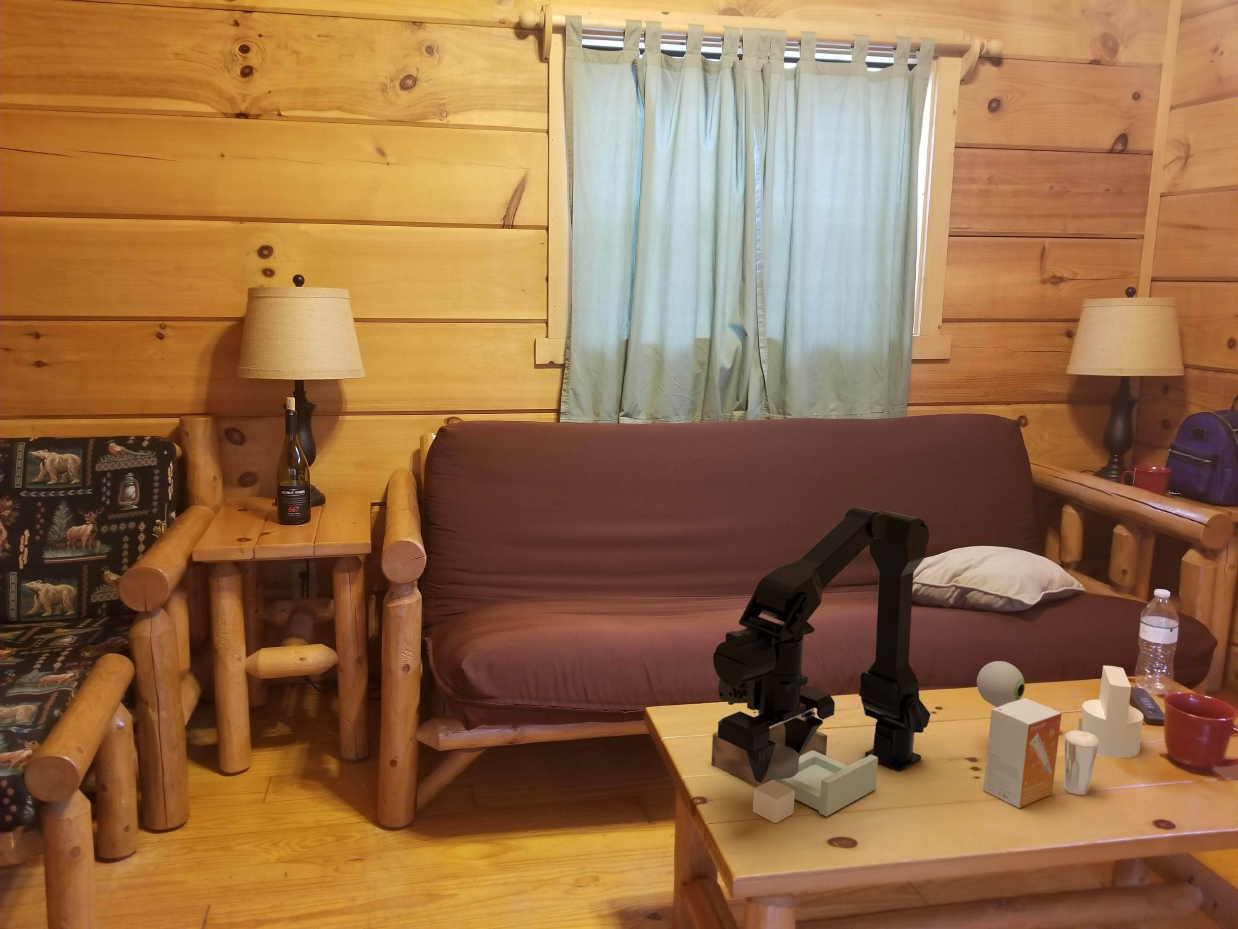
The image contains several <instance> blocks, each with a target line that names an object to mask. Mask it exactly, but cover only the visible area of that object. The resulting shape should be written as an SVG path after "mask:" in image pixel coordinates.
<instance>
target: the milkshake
mask: <svg viewBox="0 0 1238 929" xmlns="http://www.w3.org/2000/svg"><path fill="white" fill-rule="evenodd" d="M1082 721H1083V719H1081V718H1078V730H1077V729H1075V730H1074V729H1073V730H1070V731H1068V732H1067V733H1066V734H1065V735H1064V782H1063V783H1064V790H1065V791H1066V792H1068V793H1070V794H1072V795H1076V796H1086V795H1087V794H1089V791H1090V784H1091V781H1092V775H1093V770H1094V766H1095V762H1096V757H1097V754H1098V753H1097V749H1098V745H1099V741H1098V738H1097V737H1096V736H1095V735H1094V734H1091V733H1089V732H1084V731H1082Z"/></svg>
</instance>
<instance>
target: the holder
mask: <svg viewBox="0 0 1238 929" xmlns="http://www.w3.org/2000/svg"><path fill="white" fill-rule="evenodd" d="M756 716H758V714H757V715H756ZM756 716H754V717H756ZM769 740H770V741H772V742H775V743H776V744H780V745H784V746H785V726H784V724H783V723H782V724H780V725H777V726H775V727H773V728H770V738H769ZM711 741H712V742H711V743H712V746H711V765H712V766H714V767H716V768H718V769H720V770H722V771H724V772H726V773H729V774H731V775H732V776H734V777H736V778H739V779H741V780H742V781H744V782H746V783H748V784H750V785H752V786H754V787H755V788H756V787H758V786H760V785H763V784H765V783H767V782H769V781H771V780H774V779H772V778H767V777H765V778H764V780H763V782H762V783H759V782H757V781H756V780H755V778H754V775H753V772H752V769H751V766H750V763H749V760H748V756H747V754H746V751H745V750H744V749H742V748H739V747H737V746H735V745H733V744H731V743H729V742H727V741H725V740H723V739H720V738H718V731H717V732H714V733H712V740H711ZM827 746H828V735H827V734H826V733H823V732H821V731H819V730H817V731H816V732H815V734H814V735H813V737H812V738H811V740H810V741H809V743H808V744H807V746H806V747H805V749H804V751H803V752H802V754H801V755H803V754H805V753H807V752H809V751H812V750H814V751H816V752H818V753H821V754H823V755H825V756H827Z"/></svg>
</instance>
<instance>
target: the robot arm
mask: <svg viewBox="0 0 1238 929" xmlns="http://www.w3.org/2000/svg"><path fill="white" fill-rule="evenodd" d="M845 513H846V514H845V516H844V519H842V520H841V521H840V522H839V523H838V524H837V525H836V526H835V527H834V528H833V529H832V530H830V531H829V532H828V533H827V534H826V535H825V536H824V537H823V538H822V539H820V541H819V542H817V543H816V544H815V546H813V547H812V548H811V549H810V550H809V551H807V553H806V554H804V555H803V557H801V558H800V559H799V560H797V561H795V562H793V563H789V564H786V565H782V566H778V567H777V568H775V569H773V570H772V571H771V572H770V573H767V575H764V576H763V577H762V578H761V580H760V581H759V582H758V583H757V585H756V587H755V590H754V592H753V593H752V595H751V598H750V599H749V602H748V603H747V605H746V607H745V608H744V611H743V613H742V615H741V616H740V619H739V621H738V625H739V626H741V627H744V628H743V629H741V630H731V631H728V632H726V633H725V641H723V642H720V643H719V644H718V645H717V646H716V648H715V650H714V651H715V652H713V655H712V659H713V660H712V661H713V667H714V671H715V672H716V674H717V676H718V678H719V681H718V688H717V691H718V696H719V699H720V701H722V702H723V703H724V702H726V703H727V705H729V706H734V704H746V708H747V709H749V710H751V711H757V715H758V716H757V715H756V717H755V716H752V715H750V714H747V713H745V712H743V711H740V710H739V711H737V712H735V713H732V714H730V715H727V716H725V717H722V718H721V719H720V720H719V721H717V732H718V738H720V739H723V740H725V741H727V742H729V743H731V744H733V745H735V746H737V747H739V748H742V749H744V750H745V751H746V754H747V756H748V760H749V763H750V766H751V769H752V772H753V775H754V778H755V780H756V781H757V782H759V783H762V782H763V780H764V778H765V775H766V772H767V769H768V766H769V763H770V760H771V757H772V754H773V751H774V748H775V745H776V743H775V742H772V741H770V740H769V738H770V728H773V727H775V726H777V725H780V724H782V723H783V724H784V726H785V746H788V747H790V748H792V749H794V750H795V751H796V752H797V753H798V754H799V757H800V756H801V754H802V752H803V751H804V749H805V747H806V746H807V744H808V743H809V741H810V740H811V738H812V737H813V735H814V734H815V732H816V731H818V729H819V728H820V726H823V723H824V721H823V720H825V719H828V718H830V717H832V716H834V715H835V706H836V701H835V700H834V699H833V697H832V696H831V694H830V693H827V692H824V691H823V690H822V691H821V690H819V689H817V688H814V687H812V686H809V685H808V682H809V680H808V679H809V677H808V676H806V675H805V674H802V672H803V671H802V670H803V654H804V653H803V652H804V640H805V638H804V637H805V636H806V635H809V634H813V633H814V632H815V627H814V626H813V625H812V624H810V623H809V621H808V620H809V619H810V618H811V617H812V615H813V614H814V613H815V611H817V609H818V608H819V606H821V603H822V600H823V599H822V598H823V592H824V589H825V588H826V587H827V586H828V584H829V583H831V581H832V580H833V579H835V577H837V576H838V575H839V574H840V573H841V572H842V571H843V570H844V569H845V568H846V567H847V566H848V565H849V564H850V563H851V562H852V561H853V560H854V559H855V558H856V557H857V556H859V555H860V554H861V552H862V551H864V550H865V548H866V547H868V550H869V551H868V552H869V554H870V556H871V558H872V560H873V562H874V564H875V566H876V568H877V570H878V586H877V587H878V591H877V593H878V594H877V610H876V611H877V612H876V631H875V632H876V633H875V634H876V635H875V654H874V661H873V662H872V664H871V665H870V667H868V669H867V670H866V671H863V672H861V674H860V676H859V677H860V678H859V679H860V688H859V694H858V696H859V697H860V700H861V704H862V707H863V711H864V716H866V717H870V718H872V719H875V720H876V722H875V727H874V737H873V745H872V746H873V747H872V748H871V749H869V750H867V751H865V752H864V758H865V757H867V756H869V755H874V756H876V757H878V763H879V764H882V765H883V766H884V765H885V766H886V767H889V768H890V769H893V770H895V771H898V772H899V771H903V770H905V769H907V768H908V767H910V766H912V765H914V764H915V763H917V762H919V761H920V760H922V755H921V754H918V753H916V752H914V743H915V742H914V741H915V733H918V734H922V733H924V732H925V730H924V729H926V728H928V725H929V722H930V717H931V713H930V712H929V709H928V708H927V707H926V706H925V704H924V703H923V701H921V699H920V689H919V680H918V678H917V676H916V674H915V672H914V670H913V669H912V666H911V665H910V662H909V661H910V644H911V643H910V642H911V627H912V626H911V625H912V609H913V606H912V604H913V587H914V575H915V573H914V572H916V570H917V569H918V567H919V566H920V564H922V562H923V561H924V560H925V558H926V555H927V550H928V549H927V548H928V543H929V539H930V532H929V531H930V530H929V526H928V525H927V524H926V523H925V521H924V520H923V519H922V518H919V517H916V516H911V515H907V514H902V513H899V512H898V513H897V512H893V511H888V510H882V511H878V510H872V509H868V508H863V507H860V506H857V507H851V508H850V509H848V511H846V512H845ZM760 615H764V616H766V617H768V618H772V619H775V620H777V621H779V622H774V621H772V620H769V619H766V618H764V617H761V616H760ZM815 709H816V712H815ZM816 716H817V717H816Z"/></svg>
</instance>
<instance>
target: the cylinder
mask: <svg viewBox="0 0 1238 929" xmlns="http://www.w3.org/2000/svg"><path fill="white" fill-rule="evenodd" d="M798 767H799V754H798V753H797V752H796V751H795V750H794V749H792V748H790V747H788V746H784V745H780V744H776V745H775V748H774V751H773V754H772V757H771V760H770V763H769V766H768V769H767V772H766V775H765V777H767V778H772V779H787V778H791V777H793V776H795V775H796V774H797V773H798Z"/></svg>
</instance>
